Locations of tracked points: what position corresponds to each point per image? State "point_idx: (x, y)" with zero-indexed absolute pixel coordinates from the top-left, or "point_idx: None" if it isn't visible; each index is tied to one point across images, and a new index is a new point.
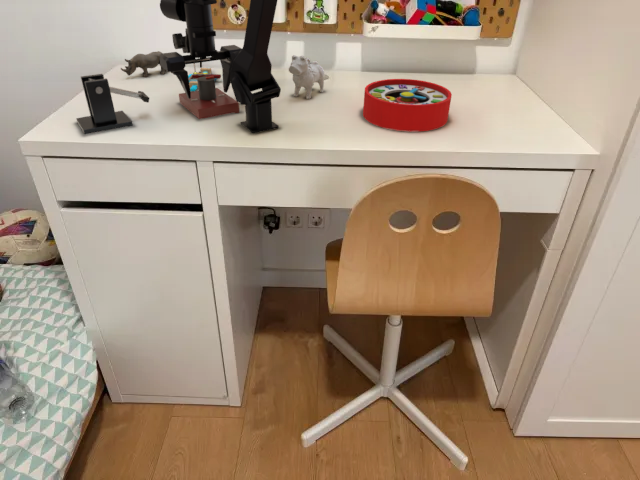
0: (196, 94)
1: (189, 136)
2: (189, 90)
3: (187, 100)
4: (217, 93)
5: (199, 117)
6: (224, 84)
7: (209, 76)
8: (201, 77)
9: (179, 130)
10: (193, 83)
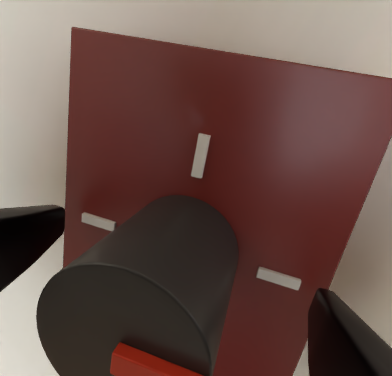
0: (161, 133)
1: (18, 367)
2: (6, 280)
3: (67, 196)
4: (292, 222)
5: None
6: (325, 351)
7: (193, 325)
8: (98, 285)
9: (7, 314)
10: None
